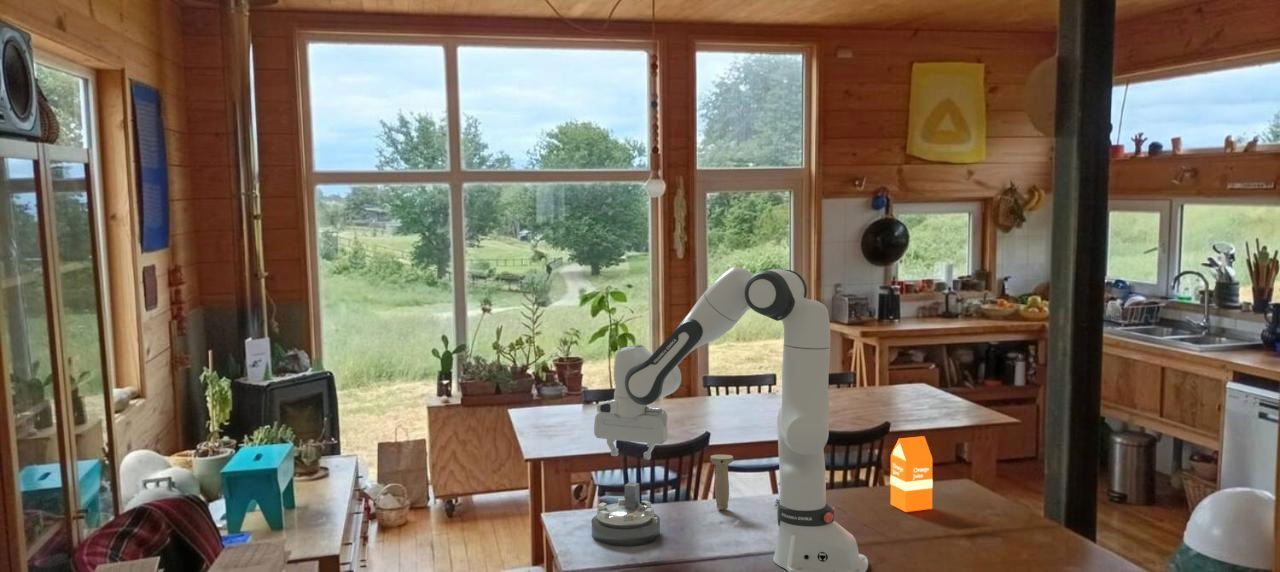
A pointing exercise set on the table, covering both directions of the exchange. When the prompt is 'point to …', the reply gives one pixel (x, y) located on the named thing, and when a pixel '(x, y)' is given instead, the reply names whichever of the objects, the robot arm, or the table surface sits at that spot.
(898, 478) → the orange juice
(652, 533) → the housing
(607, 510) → the round clock
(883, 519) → the table surface
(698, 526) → the table surface
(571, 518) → the table surface
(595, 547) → the table surface
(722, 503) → the handle
